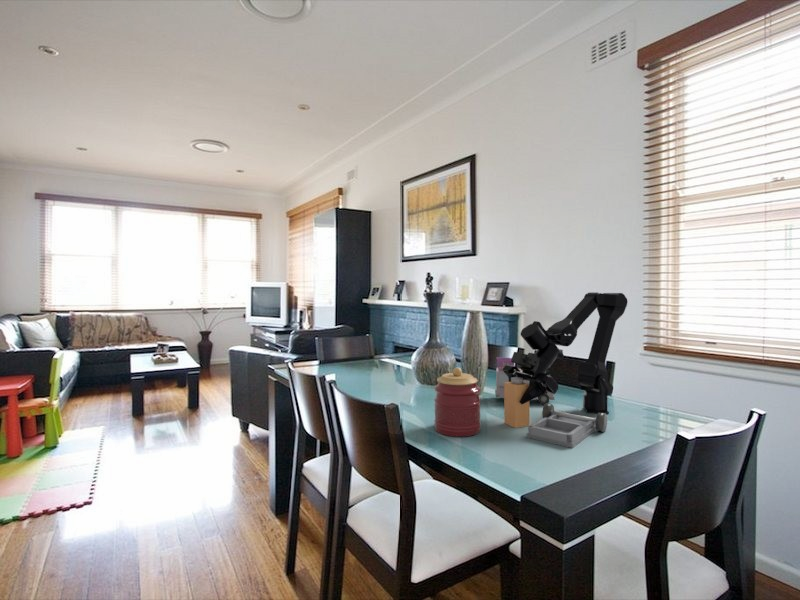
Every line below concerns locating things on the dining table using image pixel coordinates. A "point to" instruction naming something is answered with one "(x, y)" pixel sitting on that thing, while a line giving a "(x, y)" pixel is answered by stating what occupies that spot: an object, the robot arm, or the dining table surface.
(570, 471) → the dining table surface
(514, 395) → the block with grey dome
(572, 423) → the chassis
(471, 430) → the canister
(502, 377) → the toy vehicle
